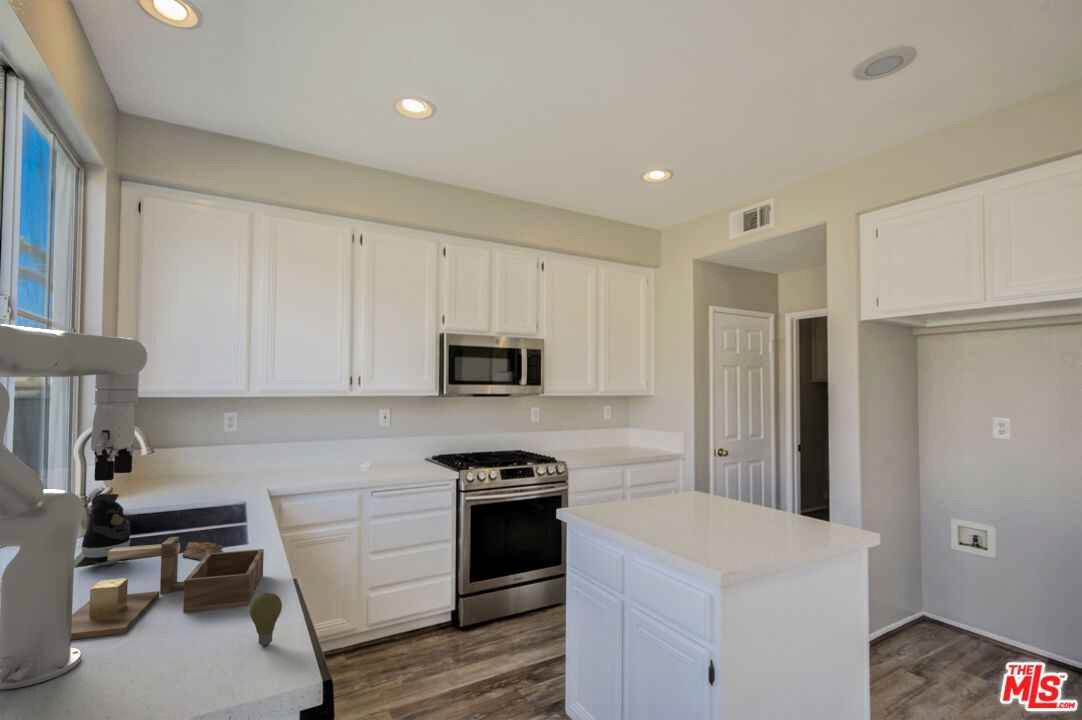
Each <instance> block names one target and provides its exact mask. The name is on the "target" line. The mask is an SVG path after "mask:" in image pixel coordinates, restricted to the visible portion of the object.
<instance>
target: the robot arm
mask: <svg viewBox="0 0 1082 720" xmlns="http://www.w3.org/2000/svg"><path fill="white" fill-rule="evenodd" d="M147 361H148V353H147V349H146V348H145V346H144V344H142V342H140V341H139V340H137V339H135V338H127V337H118V336H109V335H97V334H87V333H80V332H72V331H71V332H70V331H65V330H53V329H44V328H37V327H35V328H34V327H27V326H20V325H18V326H17V325H10V324H0V378H1V377H2V378H20V377H21V378H29V377H30V378H69V377H72V378H73V377H83V376H84V377H85V376H95V385H94V386H95V387H94V388H95V389H94V405H95V411H94V415H93V420H92V421H93V422H92V429H91V430H92V431H91V441H90V450H91V451H92V452H93V454H94V481H97V482H102V481H103V482H104V481H105V482H106V481H112V480H114V477H115V474H129V473H132V470H133V454H134V451H133V447H134V441H135V428H136V427H135V425H136V424H135V422H136V420H135V419H136V418H135V405H138V403H139V380H140V379H139V378H140V377H139V375H140V372H141V371H143V369H144V368H145V366H146V365H147ZM9 395H10V394H9V392H8V390H7V388H6V387H5V386H4V384H3V383H1V382H0V547H19V550H18V552H17V553H16V555H14V557H13V558H12V559H11V560H10V561H9V563H7V565H6V567H5V568H4V570H3V572H2V576H1V582H0V583H1V584H0V690H12V689H19V688H20V689H21V688H24V687H29V686H33V685H37V684H40V682H41V683H43V681H44V682H47V681H49V679H50V680H52V679H54V678H57V677H58V676H59V677H60V676H61V675H64V674H65V673H67V672H69V671H71V670H72V669H73V668H75V667H77V665H78V664H79V663H80V662H81V661H82V655H83V654H82V651H81V650H80V649H78V648H75V647H72V640H71V627H72V615H73V600H74V599H73V598H74V596H73V595H74V578H75V577H74V575H75V574H74V572H75V559H76V558H75V556H76V555H75V554H76V548H77V547H76V546H77V541H78V536H79V532H80V529H81V526H82V525H81V524H82V521H83V516H84V503H83V501H82V499H81V498H80V497H79V496H78V495H77V494H75V493H73V492H71V491H69V490H64V489H53V488H51V489H50V488H49V489H44V488H45V487H44V484H43V482H42V479H41V478H40V477H39V475H38V473H36V472H35V471H34V470H33V469H32V468H30V467H29V466H28V465H27V464H26V463H25V462H23V461H22V460H21V459H20V458H19V457H17V456H16V454H14V453H13V452H12V451H11V450H10V449H8V447H6V445H5V442H4V441H5V433H6V428H7V427H6V426H7V422H8V418H9V417H8V416H9V412H10V406H11V399H10V396H9ZM115 453H116V455H115ZM113 458H114V459H113ZM46 680H47V681H46Z"/></svg>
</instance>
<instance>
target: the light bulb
mask: <svg viewBox="0 0 1082 720" xmlns="http://www.w3.org/2000/svg"><path fill="white" fill-rule="evenodd" d="M282 609H283V603H282V600H281V598H280V597H279V595H277V594H276V593H273V592H264V593H261V594H259V595H258V596H257V597H255V599H253V601H252V603H250V608H249V614H250V618H251V620H252V622H253V624H254V626H255V631H256V633H257V635H258V642H257V643H258V644H259V645H260V646H262V647H268V646H269V645H270V644H271V643H272V642H273V634H274V633H273V632H274V630H275V627H276V623H277V621H278V618H279V617H280V616H281V615H280V614H281V613H282Z"/></svg>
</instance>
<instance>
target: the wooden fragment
mask: <svg viewBox="0 0 1082 720" xmlns="http://www.w3.org/2000/svg"><path fill="white" fill-rule="evenodd" d="M222 548H223V545H220V544H217V543H216V542H214V543H213V542H209V541H207V542H204V541H203V542H198V541H197V542H193V541H190V542H188V543H187V545H186V546H185V548H184V551H183V553H182V555H181V557H182V558H184V557H185V558H190V559H194V560H198V561H202V559H203V558H204V557H205V556H206V555H207V554H208V553H221V552H224V550H222Z"/></svg>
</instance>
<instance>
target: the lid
mask: <svg viewBox="0 0 1082 720" xmlns="http://www.w3.org/2000/svg"><path fill="white" fill-rule="evenodd" d="M128 582H129V578H114V579H103V580H102V579H101V580H100V581H98V582H97V583H96V584H94V585H93V586H92V587H91V588H90V589H89V601H87V602H86V603H85V604H84V605H82V606H81V607H80V608H78V609H77V610H76V611H75V612H73V613H72V627H71V641H72V640H79V639H87V638H97V637H104V636H106V637H107V636H115V635H125V634H126V633H127V632H128V631H129V630H130V629H131V628H132V627H133V626H134V624H135V623H136V622H137V621H138V620H139V619H140V618H141V617H142V616H143V614H144V613H146V611H147V610H149V608H150V607H151V606H152V605H153V604H154V603H155V601H157V599H158V598H159V597H160V590H157V591H147V592H145V591H144V592H136V593H135V592H134V593H128V584H129V583H128Z"/></svg>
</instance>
